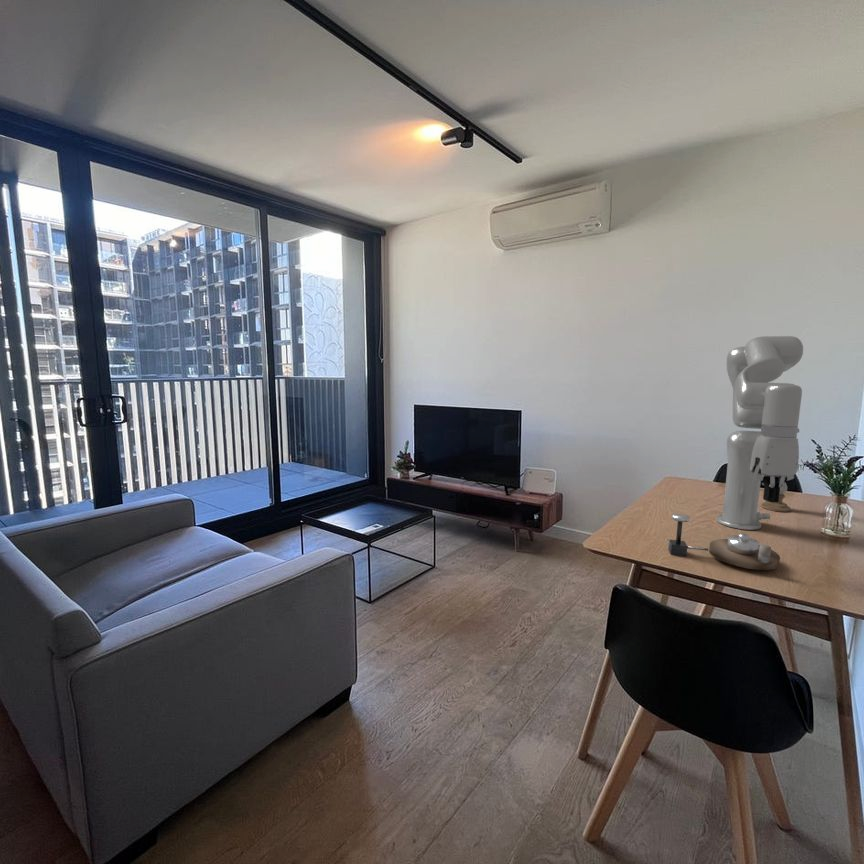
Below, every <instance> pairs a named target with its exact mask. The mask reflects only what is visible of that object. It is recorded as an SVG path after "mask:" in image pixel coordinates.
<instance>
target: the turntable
mask: <svg viewBox="0 0 864 864" xmlns="http://www.w3.org/2000/svg"><path fill="white" fill-rule="evenodd" d="M727 544H728V538H720V539H714V540H712V541H710V543H709V548H708V552H709V553H710V555H711V556H712V557H714V559H717V560H719V561H721V562H723V563H727V564H729V565H731V566H735V567H740V568H743V569H750V570H755V571H756V570H758V571H759V570H760V571H762V570H763V571H769V570H775V569H777V568H779V566H780V560H781V556H780V554H778V552H776V551H774V550H772V547H771V546H769V545H766V544H759V548H758V554H757V555H755V556H745V555H740V554H736V553H733V552H731V551H729V550H728V549H727Z"/></svg>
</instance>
